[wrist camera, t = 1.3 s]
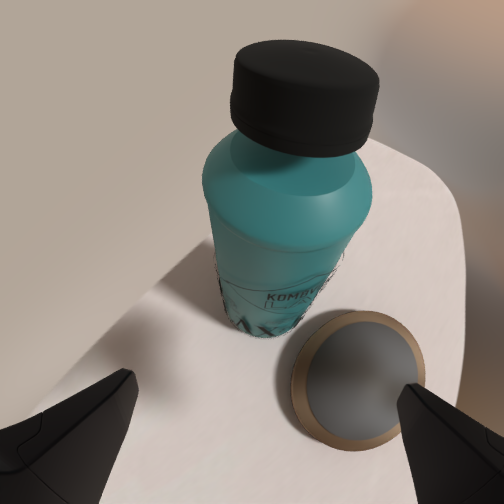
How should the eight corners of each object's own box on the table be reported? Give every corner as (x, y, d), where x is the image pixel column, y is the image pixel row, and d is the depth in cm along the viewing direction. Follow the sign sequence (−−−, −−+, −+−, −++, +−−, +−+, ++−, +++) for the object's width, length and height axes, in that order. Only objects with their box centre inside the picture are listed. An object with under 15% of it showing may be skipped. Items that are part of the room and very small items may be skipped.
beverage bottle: (210, 299, 23) (136, 52, 6) (271, 258, 25) (304, 21, 8) (257, 360, 21) (312, 166, 3) (318, 312, 23) (458, 97, 5)
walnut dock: (408, 443, 16) (417, 445, 15) (278, 445, 17) (280, 449, 16) (418, 321, 22) (427, 316, 21) (301, 307, 23) (305, 300, 21)
